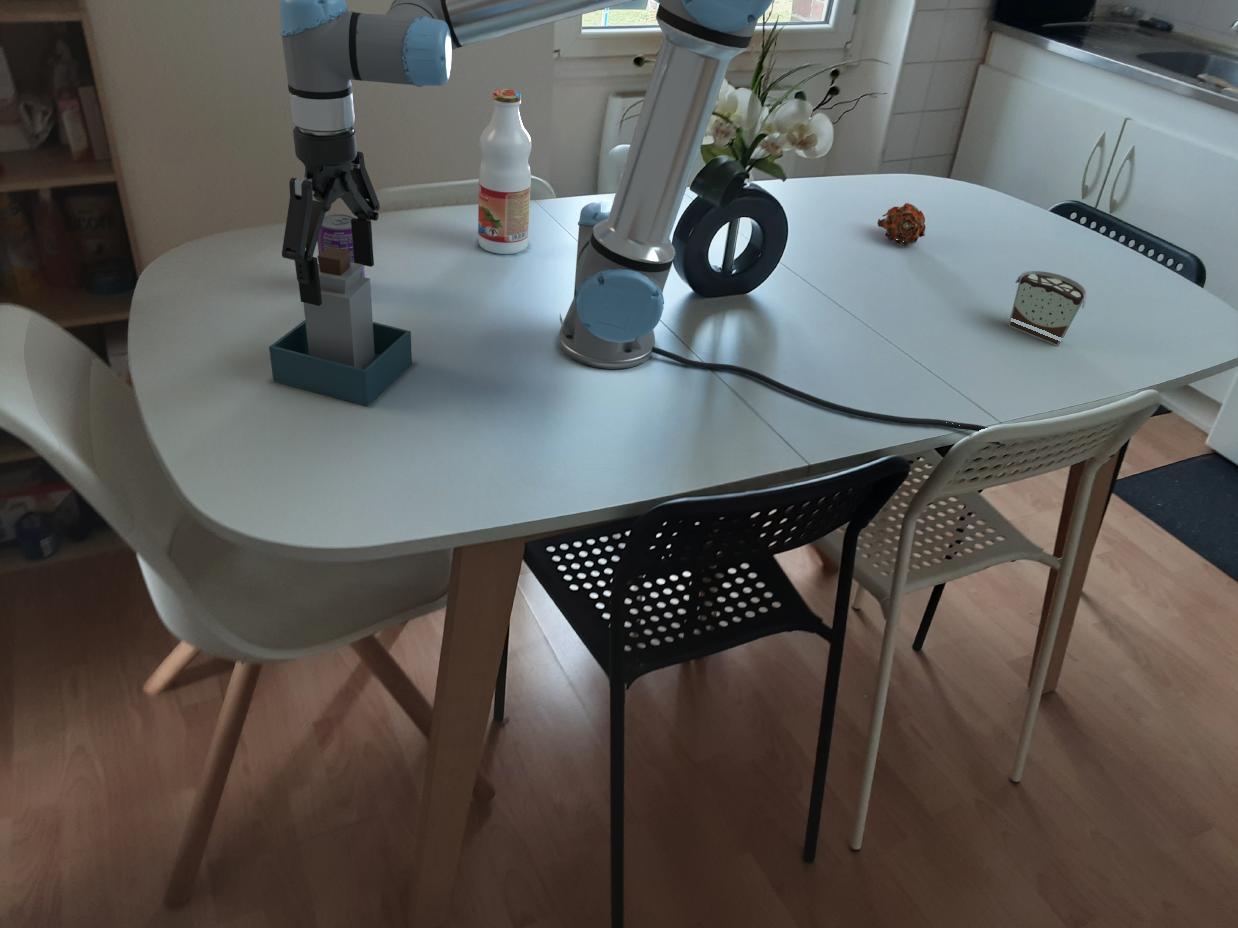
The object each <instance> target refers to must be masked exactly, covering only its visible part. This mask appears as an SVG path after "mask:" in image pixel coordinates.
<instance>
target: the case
mask: <svg viewBox="0 0 1238 928" xmlns="http://www.w3.org/2000/svg"><path fill="white" fill-rule="evenodd" d="M373 336H374V352H375V360H374V361H373V362H372V363H371V364H370V365H369V366H368V367H366V368H365V369H360V368H357V367H353V366H349V365H345V364H341V363H337V362H333V361H329V360H326V359H322V358H318V357H314V356H310V355H309V349H308V340H307V330H306V321H305V319H304V320H302V321H301V322H300V323H299V324H298V325H296V326H294V328H292V329H291V330H290V331H288V332H287V333H285V334H284V335H283V336H282V337H280V338H279V339H277V340H276V341H274V343H272V344H270V345H269V346H268V351H269V358H270V365H271V373H272V378H273V379H272V381H273V382H275V383H278V384H283V385H286V386H290V387H294V388H297V389H300V390H301V389H302V390H306V391H309V392H313V393H316V394H320V395H324V396H328V397H331V398H335V399H339V400H343V401H347V402H350V403H354V404H358V405H360V406H361V405H362V406H364V407H369V406H370V405H371V404H372V403H373V402H374V401H375V400H377V398H378V397H380V396H381V394H383V393H384V392H385V391H386V390H387V389H388V388H389V387H390V386H391V385H392V384H393V383H395V381H396V380H397V379H398V378H399V377H400V376H401V375H403V374H404V373H405V372H406V371H407V370H408V369H409V368H410V367H411V366H412V365H413V358H412V357H413V356H412V331H411V330H407V329H404V328H399V327H396V326H392V325H387V324H383V323H381V322H376V321H373Z"/></svg>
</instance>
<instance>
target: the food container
mask: <svg viewBox="0 0 1238 928" xmlns="http://www.w3.org/2000/svg"><path fill="white" fill-rule="evenodd" d="M1014 283H1015V284H1017V283H1018V285H1017V288H1016V293H1015V297H1014V302H1013V305H1012V309H1011V313H1010V317H1009V319H1010V318H1013V319H1016V320H1019V321H1021V322H1024V323H1026V324H1029V325H1032V326H1034V327H1037V328H1039V329H1042V330H1045V331H1047V332H1049V333H1051V334H1053V335H1056V336H1058V337H1061V338H1063V339H1064V337H1065V335H1066V333H1067V332H1068V330H1069V328H1070V327H1071V325H1072V322H1073V321H1074V319H1075V317H1076V315H1077V313H1078V312H1079V310H1080V308H1081V309H1082V310H1084V309H1085V307H1086V303H1087V297H1088V296H1087V290H1086V288H1085V287H1084V286H1083V285H1082V284H1081V283H1079V282H1077V280H1074V279H1071V278H1069V277H1068V276H1064V275H1062V274H1058V273H1054V272H1050V271H1043V270H1028V271H1024V272H1021V273H1020V275H1019V276H1018V277H1017V278H1016V280H1015V282H1014ZM1007 326H1008V327H1009V328H1012V329H1014V330H1016V331H1019V332H1021V333H1024V334H1026V335H1029V336H1031V337H1033V338H1035V339H1039V340H1041V341H1043V342H1045V343H1048V344H1051V345H1053V346H1056V347H1059V346H1060V345H1061V343H1062V341H1063V339H1062V340H1061V342H1060V341H1058V340H1055V339H1053V338H1050V337H1048V336H1045V335H1043V334H1040V333H1038V332H1036V331H1033V330H1031V329H1028V328H1026V327H1023V326H1021V325H1018V324H1016V323H1014V322H1011V321H1010V320H1009V322H1008V325H1007Z"/></svg>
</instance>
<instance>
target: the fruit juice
mask: <svg viewBox="0 0 1238 928" xmlns="http://www.w3.org/2000/svg"><path fill="white" fill-rule="evenodd" d="M492 102H493V104H494V107H493V112H492V116H491V119H490V121H489V123H488V125H487V126H486V127H485V128H484V129H483V131H482V132H481V135H480V138H479V149H480V152H481V156H482V157H481V162H480V164H479V168H478V206H477V207H478V209H477V211H478V213H477V214H478V215H477V216H478V219H477V220H478V221H477V241H478V244H479V246H480V247H481V249H483V250H485V251H487V252H490V253H492V254H499V255H513V254H517V253H521V252H523V251H525V249H527V247H528V244H529V232H530V231H529V230H530V210H531V209H530V205H531V185H532V175H531V172H532V171H531V167H530V164H529V159H530V155H531V153H532V140H531V139H532V138H531V136H530V134H529V132H528V131H527V129H525V127H524V125H523V122H522V118H521V114H520V105H521V103H522V93H521V92H520V91H518V90H515V89H510V88H499V89H495V90H493V92H492Z"/></svg>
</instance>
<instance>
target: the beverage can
mask: <svg viewBox="0 0 1238 928" xmlns="http://www.w3.org/2000/svg"><path fill="white" fill-rule="evenodd" d="M353 218H356V219H357V217H356V216H354V215H353V214H352V215H351V214H348V213H329V214H325V216H324V219H323V223H322V226H321V230H320V233H319V237H318V240H317V250H318V251H317V252H318V255H319V254H320V253H321V252H323V251H324V250H325V249H326V248H327V247H331V248H337V249H343V250H348V251H351V252H350V262H351V263H354V252H353V240H352V229H351V219H353ZM365 271H366V270H365V265H362V268H361V273H360V277H365V278H366V273H365Z"/></svg>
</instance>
